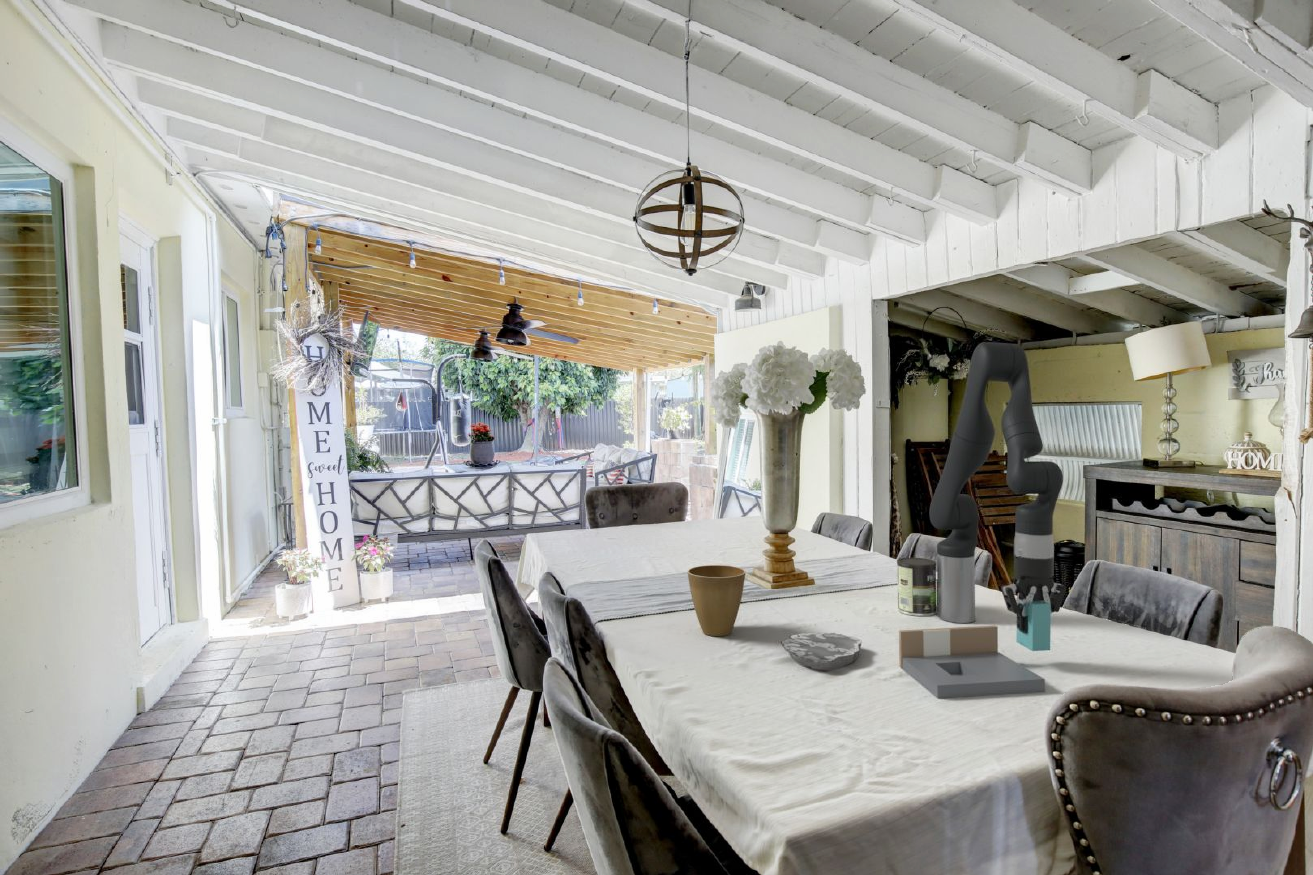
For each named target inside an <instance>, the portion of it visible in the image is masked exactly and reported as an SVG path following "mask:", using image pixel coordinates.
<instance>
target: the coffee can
mask: <svg viewBox="0 0 1313 875" xmlns="http://www.w3.org/2000/svg"><path fill="white" fill-rule="evenodd" d="M896 564H897V611H898V612H899V613H900V614H904V615H907V616H913V617H931V616H935V615H936V614H937V561H936V560H933V559H930V558H924V557H922V558H921V557H902V558H899V559H897V560H896Z"/></svg>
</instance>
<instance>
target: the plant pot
mask: <svg viewBox="0 0 1313 875" xmlns="http://www.w3.org/2000/svg"><path fill="white" fill-rule="evenodd" d="M687 578H688V584H689V585H688V586H689V590H690V595H691V600H692V603H693V607H694V611H695V614H696V618H697V620H698V623H699V626H700V629H701V631H702V633H703V634H704V633H705V634H704V635H706V636H710V637H725V636H728V635H731V633H732V632H733V629H734V626H735V622H736V620H737V617H738V613H739V609H740V606H741V601H742V597H743V591H744V586H745V581H746V580H745V578H746V570H745V569H743V568H742V567H737V566H732V565H722V564H721V565H719V564H712V565H711V564H710V565H708V564H706V565H701V566H694V567H691V568H689V569H688V570H687Z"/></svg>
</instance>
